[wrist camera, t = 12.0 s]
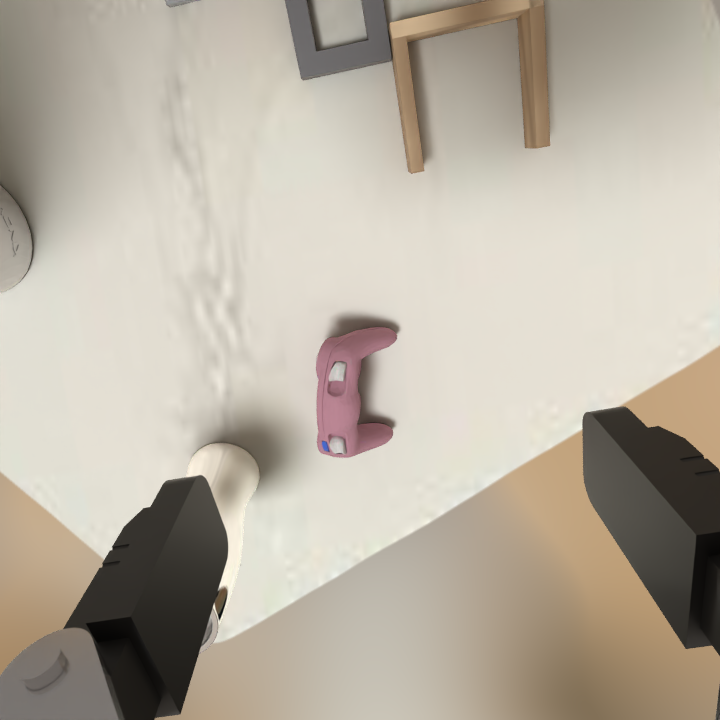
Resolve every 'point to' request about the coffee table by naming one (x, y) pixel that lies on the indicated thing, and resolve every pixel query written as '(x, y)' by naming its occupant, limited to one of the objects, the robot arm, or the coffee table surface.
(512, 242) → the coffee table surface
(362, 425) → the video game controller
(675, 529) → the robot arm
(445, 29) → the wooden u-shaped bracket
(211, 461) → the beer glass
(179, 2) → the grey pad
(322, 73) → the grey square frame
